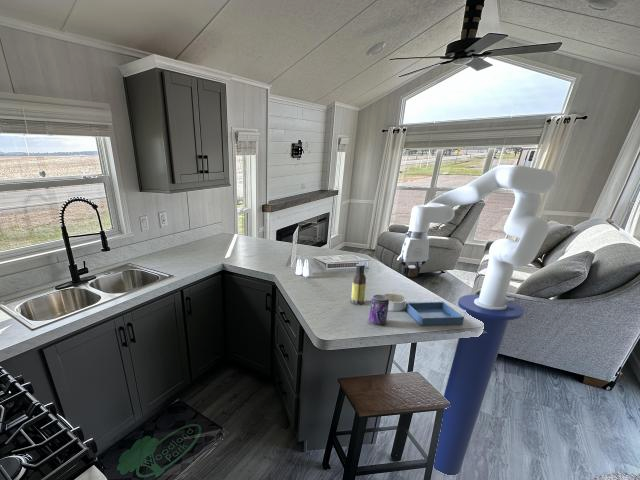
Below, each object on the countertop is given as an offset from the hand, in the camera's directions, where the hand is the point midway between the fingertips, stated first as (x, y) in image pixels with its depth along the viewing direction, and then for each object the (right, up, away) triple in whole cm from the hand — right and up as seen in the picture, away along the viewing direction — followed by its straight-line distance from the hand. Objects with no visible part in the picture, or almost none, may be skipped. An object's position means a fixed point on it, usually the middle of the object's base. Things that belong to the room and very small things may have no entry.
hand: (410, 274), depth 148 cm
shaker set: (-37, +3, +56) cm, 67 cm away
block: (0, 0, 0) cm, 0 cm away
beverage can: (-17, -22, -3) cm, 27 cm away
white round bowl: (-3, -15, +11) cm, 18 cm away
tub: (+10, -19, -1) cm, 21 cm away
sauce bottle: (-18, -13, +17) cm, 28 cm away
